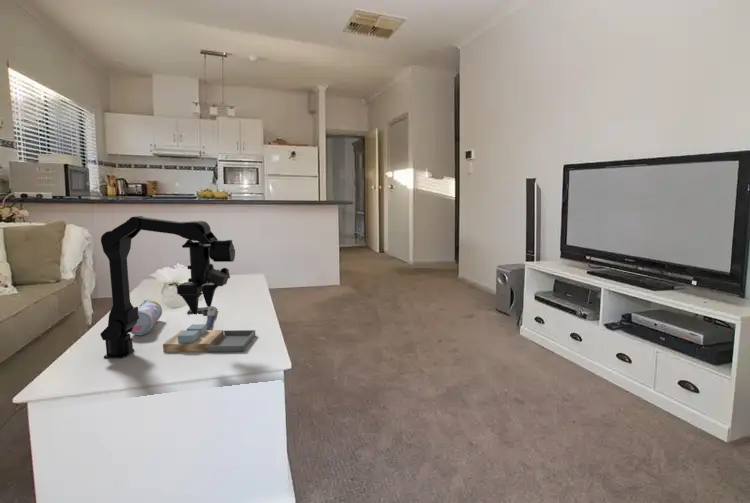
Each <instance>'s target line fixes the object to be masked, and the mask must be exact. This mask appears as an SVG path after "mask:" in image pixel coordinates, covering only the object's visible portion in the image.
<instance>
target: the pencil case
mask: <svg viewBox="0 0 750 503" xmlns="http://www.w3.org/2000/svg"><path fill="white" fill-rule="evenodd" d="M162 315H163V308H162V306H161V304H160V303H159V302H158V301H155V300H152V299H144V300H142V302H141V303H140V304H139V305H138V316H139V319H138V320H137V324H136V325H135V326H134V327H133V329H132V331H131V332H129V334H132V335H135V336H141V337H142V336H144V335H146V334H147V333H149V332H150V331H151V329H152V328H153V327H154V326H155V324H156V323H157V322H158V321H159V320H160V318H161V317H162Z"/></svg>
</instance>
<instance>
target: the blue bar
mask: <svg viewBox="0 0 750 503" xmlns="http://www.w3.org/2000/svg"><path fill="white" fill-rule="evenodd" d="M217 311H218V308H217V307H216V306H212V305H211V306H210V307H208V306H204V307H198V312H197V313H198V314H202V316H206V319H207V320H206V323H205V324H207V330H211V329H212V326H213V323H214V320H215V319H216V317H217ZM186 312H187V315H194V314H193V313H192V311H191V309H190V308H189V309H188V311H186Z"/></svg>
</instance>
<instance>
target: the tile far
mask: <svg viewBox="0 0 750 503" xmlns="http://www.w3.org/2000/svg"><path fill="white" fill-rule="evenodd" d="M186 330H187V331H199V336H202V335H203V334H204V333H205V332H207V324H206V323H205V324H203V323H202V324H200V323H199V324H198V323H197V324H195V323H194V324H191V325H190V326H188V327H187V328H186Z"/></svg>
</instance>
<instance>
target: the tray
mask: <svg viewBox="0 0 750 503" xmlns="http://www.w3.org/2000/svg"><path fill="white" fill-rule="evenodd" d="M255 337H256V330H255V329H251V330H250V329H249V330H248V329H247V330H246V329H245V330H244V329H243V330H242V329H241V330H240V329H235V330H234V329H233V330H229V329H227V330H225V329H224V336H223V337H222V338H221V339H220V340H219V341H218V342H217V343H216V344H215V345H214V346H208V347H209V351H207V352H208V353H243V352H244V351H245V350H246V349H247V347H248V346H249V345H250V343H251V342H252V341H253V339H254V338H255Z"/></svg>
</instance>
